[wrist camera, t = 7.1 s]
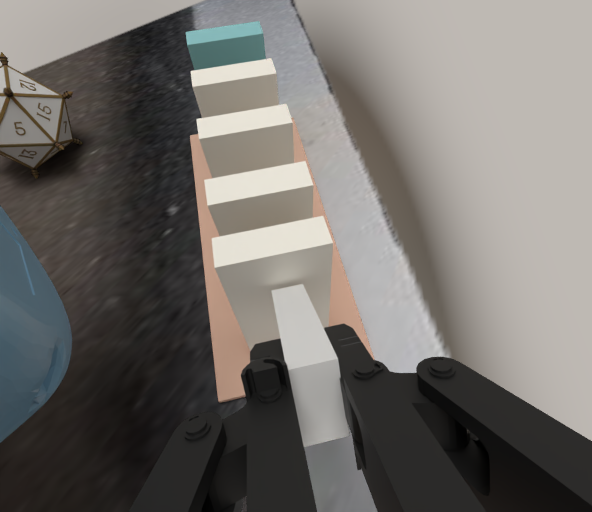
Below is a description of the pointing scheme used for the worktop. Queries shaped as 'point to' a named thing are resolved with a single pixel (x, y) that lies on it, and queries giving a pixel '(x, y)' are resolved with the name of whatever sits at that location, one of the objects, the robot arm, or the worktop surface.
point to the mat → (223, 323)
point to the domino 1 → (226, 45)
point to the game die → (31, 119)
